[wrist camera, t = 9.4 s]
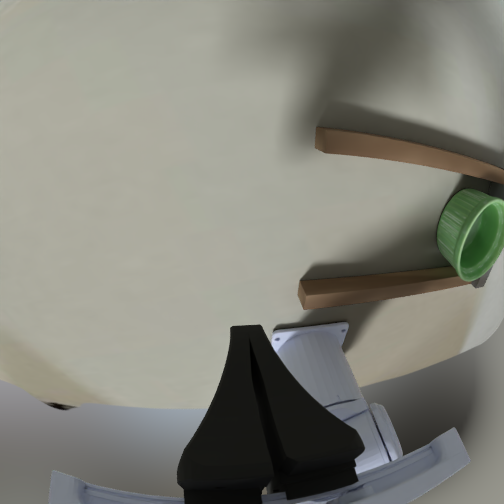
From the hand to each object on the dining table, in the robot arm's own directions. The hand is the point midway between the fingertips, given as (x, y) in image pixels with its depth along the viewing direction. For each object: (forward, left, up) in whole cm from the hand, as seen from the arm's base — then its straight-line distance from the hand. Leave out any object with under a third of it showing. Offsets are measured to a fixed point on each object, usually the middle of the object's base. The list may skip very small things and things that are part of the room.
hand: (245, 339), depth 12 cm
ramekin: (+2, -23, -10) cm, 25 cm away
